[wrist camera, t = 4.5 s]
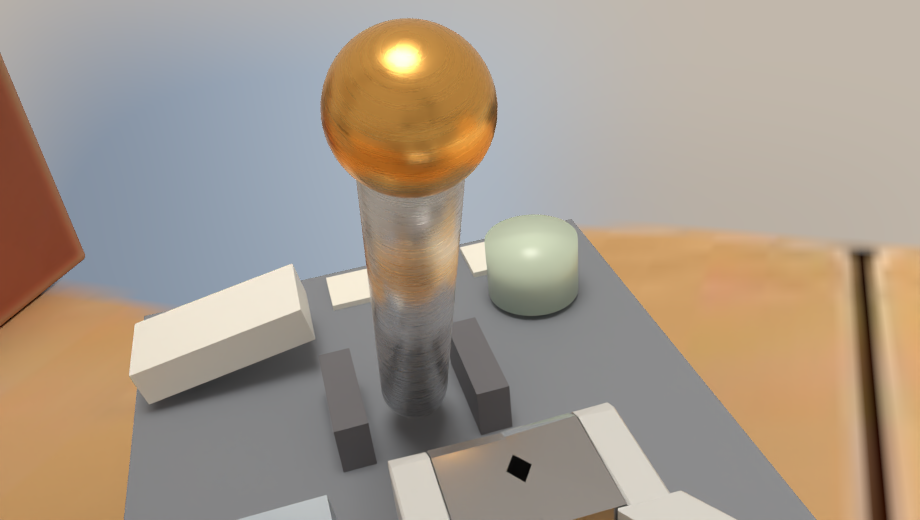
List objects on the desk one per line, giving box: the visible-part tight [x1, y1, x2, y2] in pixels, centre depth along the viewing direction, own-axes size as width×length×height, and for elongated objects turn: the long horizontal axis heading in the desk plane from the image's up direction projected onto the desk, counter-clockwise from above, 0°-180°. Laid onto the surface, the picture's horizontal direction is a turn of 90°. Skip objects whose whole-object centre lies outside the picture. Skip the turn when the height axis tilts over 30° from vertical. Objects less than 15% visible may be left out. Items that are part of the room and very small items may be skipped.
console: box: [124, 219, 816, 520], centre depth 24 cm, size 16×16×8 cm
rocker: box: [129, 264, 315, 404], centre depth 24 cm, size 3×5×1 cm, turn 106°
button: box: [484, 215, 578, 316], centre depth 26 cm, size 3×3×2 cm
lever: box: [321, 18, 497, 418], centre depth 17 cm, size 3×3×14 cm
